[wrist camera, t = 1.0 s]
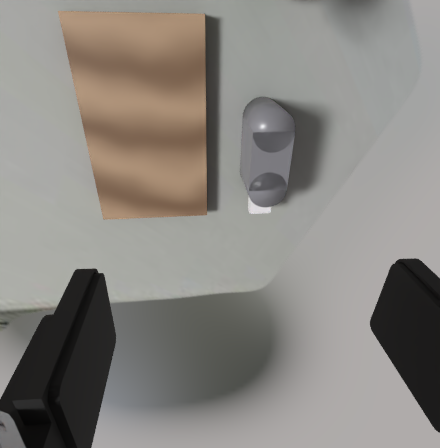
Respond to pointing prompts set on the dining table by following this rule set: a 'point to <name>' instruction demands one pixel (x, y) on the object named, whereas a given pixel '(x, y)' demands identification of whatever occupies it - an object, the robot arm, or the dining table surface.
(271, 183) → the block
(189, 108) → the walnut board
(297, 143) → the dining table surface
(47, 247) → the dining table surface
